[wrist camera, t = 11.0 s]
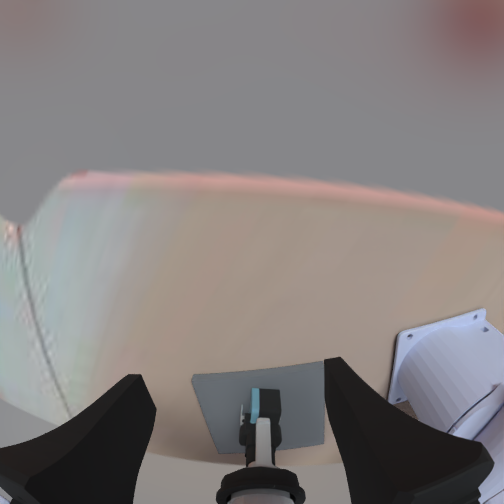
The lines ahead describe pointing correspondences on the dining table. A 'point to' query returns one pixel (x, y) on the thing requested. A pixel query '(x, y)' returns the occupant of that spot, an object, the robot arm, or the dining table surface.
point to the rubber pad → (239, 393)
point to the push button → (261, 458)
